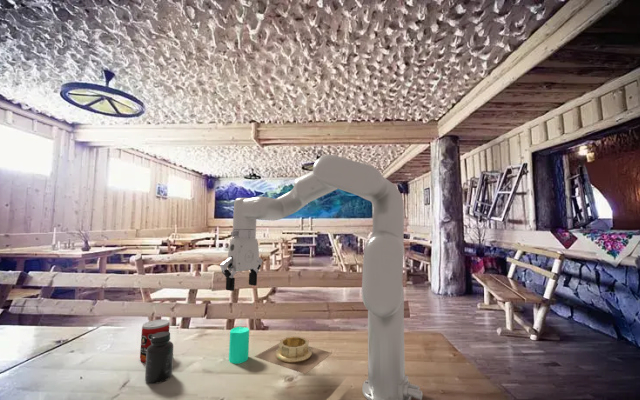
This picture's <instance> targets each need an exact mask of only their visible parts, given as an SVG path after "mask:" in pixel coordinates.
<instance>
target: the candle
mask: <svg viewBox="0 0 640 400" xmlns="http://www.w3.org/2000/svg"><path fill="white" fill-rule="evenodd" d="M228 347H229V349H228V361H229V363H231V364H238V365H239V364H242V363H246V362H247V361H248V359H249V349H250V348H249V347H250V329H249V327H244V326H237V327H233V328H232V329H230V331H229V345H228Z"/></svg>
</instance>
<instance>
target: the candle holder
mask: <svg viewBox="0 0 640 400" xmlns="http://www.w3.org/2000/svg"><path fill="white" fill-rule="evenodd" d="M278 344H279V348H278V349H277V350H276V358H277V359H278V360H279V361H281V362H284V363H301V362H305V361H307V360H309V359H310V358H311V357H312V350H311V348H310V347H311V346H310V345H309V340H308V339H307V338H306V337H302V336H295V335H294V336H288V337H284V338H281V340H280V341H279V343H278Z"/></svg>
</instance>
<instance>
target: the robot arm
mask: <svg viewBox="0 0 640 400" xmlns="http://www.w3.org/2000/svg"><path fill="white" fill-rule="evenodd" d="M336 190H340V191H343V192H346V193H350V194H353V195H354V196H355V195H356V196H358V197H360V198H361V199H364V200H366V201H369V202H370V203H371V204H372V207H373V213H372V231H371V236H370V237H369V238H368V240H367V241H366V243H365V246H364V250H363V258H362V259H363V261H362V262H363V263H362V277H361V278H362V279H361V283H362V284H361V298H362V302H363V305H364V307H365V309H366V310H367V372H368V373H367V374H368V375H367V379H366V380H364V382H363V383H362V387H361V389H362V390H361V391H362V394H363V396H364V398H366V400H412V398H413V399H416V400H423V391H422V390H420V386H419V385H417V384H412V383H411V382H410V381H409V375H406V374H405V373H406V371H405V370H406V366H405V365H406V364H405V363H406V362H405V360H406V358H405V317H404V316H405V290H404V285H403V274H404V272H403V271H404V256H405V243H404V241H405V239H404V236H405V234H404V231H405V204H404V200H403V196H402V194H401V192H400V190H399V188H397V186H396V185H395V184H394V183H393V182H391V181H390V180H388V179H387V178H385V177H384V176H383V175H382V173H381V171H379V170H378V168H376V167H375V166H373V165H369V164H367V163H364V162H360V161H357V160H356V161H355V160H352V159H349V158H344V157H341V156H338V155H334V154H325V155H322V156H320V157H318V158H317V160H316V161H315V162H314V164H313V166H312V170H310V171H309V172H307V173H304V174H303V175H300V176H298V177H297V178H296V179H294V182H293V188H292V189H291V190H290V191H288V192H286V193H285V194H283V195H280V196H278V197H276V198H273V197H267V196H255V197H254V196H253V197H237V198H235V199H234V203H233V214H232V215H233V218H232V231H231V232H230V236H231V238H232V239H230V243H229V246H228V247H229V248H228V254H227V258H226V260H224V261H222V262H221V263H220V264H219V267H220V270H221V273H222V274H223V276H224V277H225V290H226V291H230V292H234V291H235V285H236V284H235V281H236V279H235V277H234V276H235V274H236V273H237V272H244V271H249V272H248V273H249V274H248V285H250V286H253V287H255V286H257V285H258V274H259V272H260V271H259V270H260V269H261V267H262V266H261V265H262V263H263V259H262V258H261V257H260V251H259V250H260V248H259V242H258V241H259V240H258V239H257V220H259V221H273V222H274V221H279V220H282V219H284V218H286V217H288V216H291V215H293V214H295V213H296V212H298V211H300V210H301V209H302V208H304V207H305V206H306V205H307V204H309V203H311V202H312V201H315V200H317V199H319V198H322V197H324V196H326V195H328V194H330V193H332V192H334V191H336Z"/></svg>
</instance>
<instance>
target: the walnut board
mask: <svg viewBox="0 0 640 400" xmlns="http://www.w3.org/2000/svg"><path fill="white" fill-rule="evenodd" d="M309 347H310V348H311V350H312V357H311V358H310V359H309V360H307V361H305V362H301V363H284V362H281V361H279V360H278V359H277V358H276V350H277V349H278V348H279V343H277V344H275V345H273V346H272V347H269V348H268V349H265V350H263V351H262V352H260V353H258V354H257V355H255V356H254V358H258V359H260V360H263V361H266V362H269V363H272V364H275V365H277V366H281V367H283V368H287V369H289V370H292V371H295V372H298V373H301V374H304V375H305V374H307V373H309V372H310V371H311V370H313V368H315V367H317V365H319V364H320V363H322V362H323V361H324V360H325V359H326V358H328V357H329V356H330V355H332V352H330V351H326V350H323V349H319V348H315V347H312V346H309Z"/></svg>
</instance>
